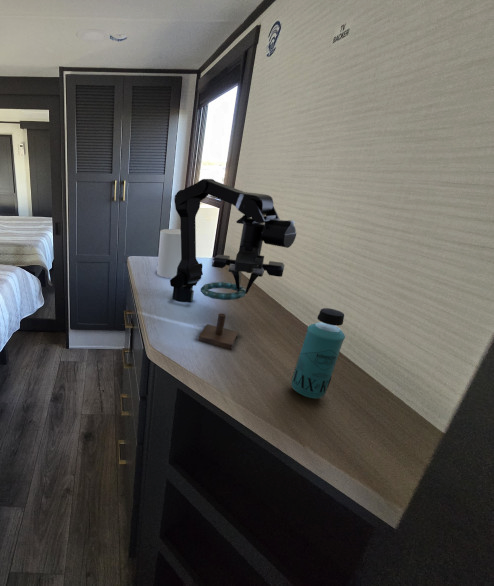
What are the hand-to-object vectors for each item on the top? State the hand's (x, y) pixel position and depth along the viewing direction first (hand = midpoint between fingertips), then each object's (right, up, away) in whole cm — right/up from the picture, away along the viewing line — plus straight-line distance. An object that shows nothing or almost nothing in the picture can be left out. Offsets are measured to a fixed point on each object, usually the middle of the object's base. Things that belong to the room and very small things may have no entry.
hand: (242, 292), depth 94 cm
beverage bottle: (+2, -22, -26) cm, 35 cm away
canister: (-10, +9, +53) cm, 55 cm away
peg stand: (-9, -13, -4) cm, 16 cm away
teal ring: (-5, +1, +3) cm, 6 cm away
